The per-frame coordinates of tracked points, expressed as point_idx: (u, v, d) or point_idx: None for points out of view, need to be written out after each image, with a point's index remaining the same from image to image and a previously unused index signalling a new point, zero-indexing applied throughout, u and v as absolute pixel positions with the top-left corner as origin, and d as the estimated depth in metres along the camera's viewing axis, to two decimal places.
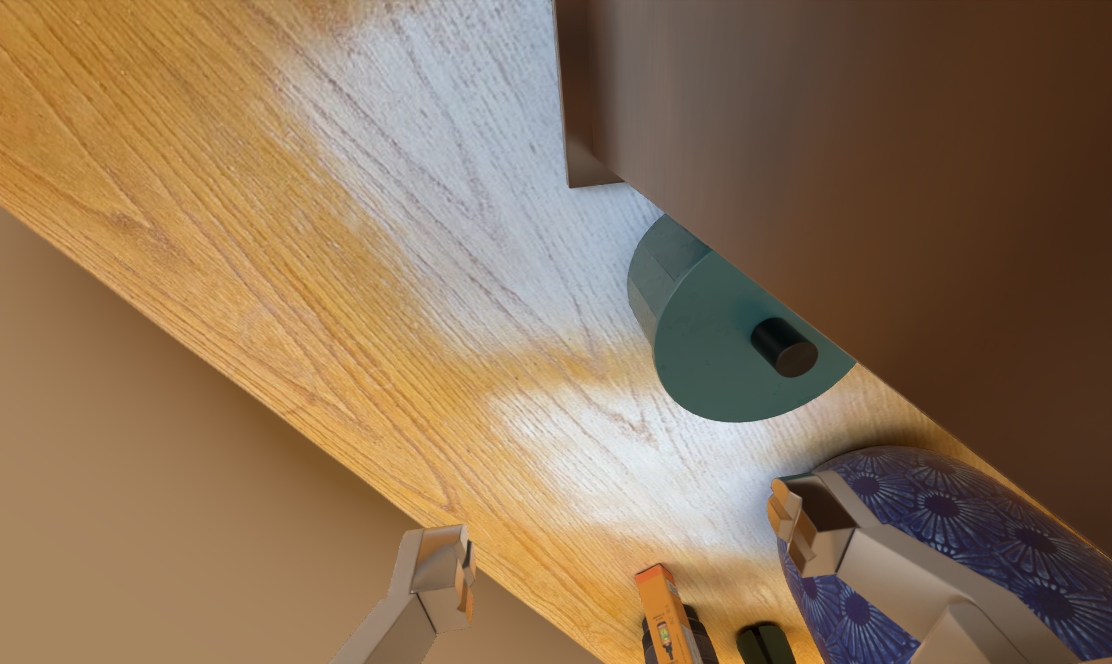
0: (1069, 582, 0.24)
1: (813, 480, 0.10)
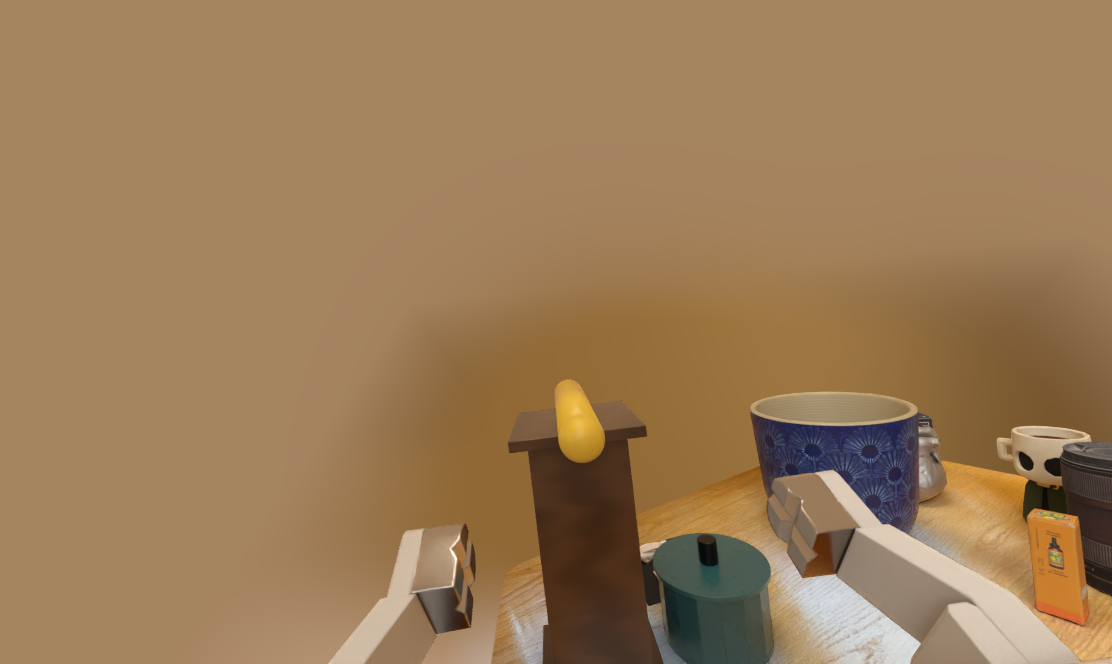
0: (761, 442, 0.62)
1: (813, 480, 0.10)
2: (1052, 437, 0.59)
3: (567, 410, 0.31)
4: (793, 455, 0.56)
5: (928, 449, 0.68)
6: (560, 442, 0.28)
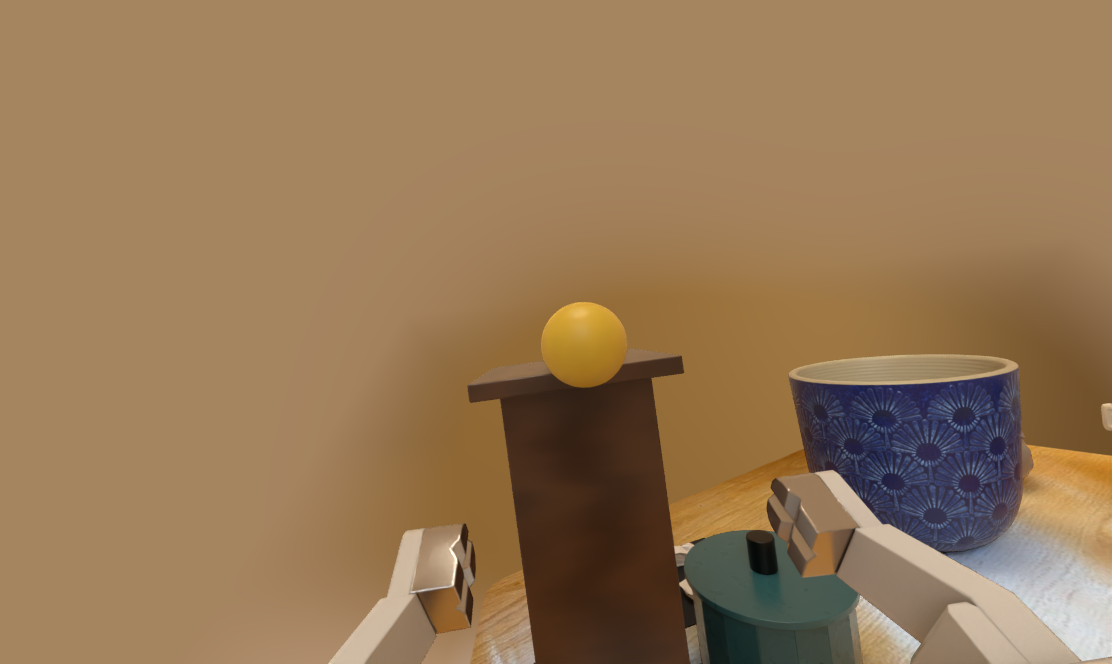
0: (808, 415, 0.49)
1: (813, 480, 0.10)
2: None
3: None
4: (856, 427, 0.43)
5: None
6: (544, 348, 0.15)
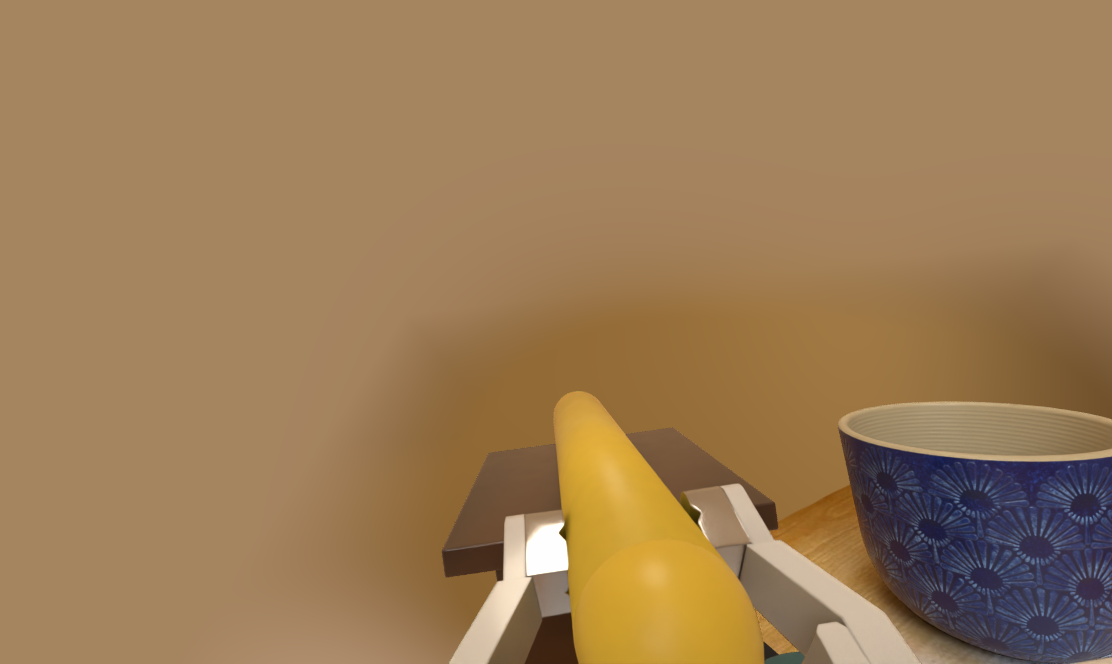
0: (869, 481, 0.41)
1: (716, 494, 0.10)
2: None
3: (595, 493, 0.10)
4: (936, 507, 0.35)
5: None
6: (583, 663, 0.07)
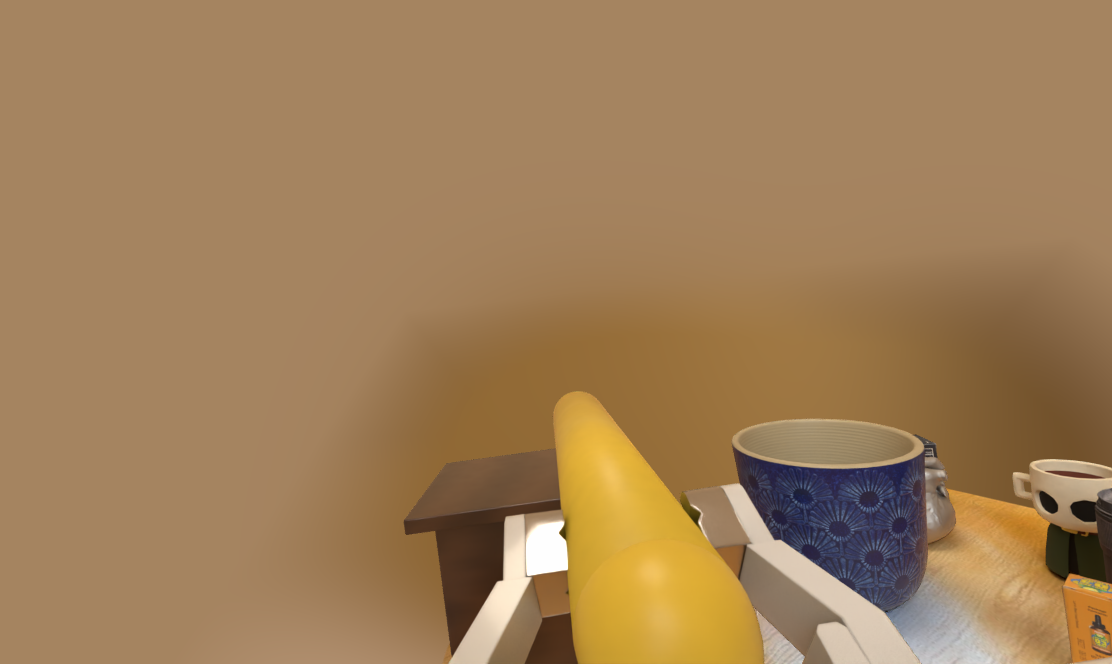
0: (745, 482, 0.54)
1: (717, 494, 0.10)
2: (1077, 473, 0.51)
3: (594, 493, 0.10)
4: (780, 501, 0.48)
5: (934, 483, 0.60)
6: None
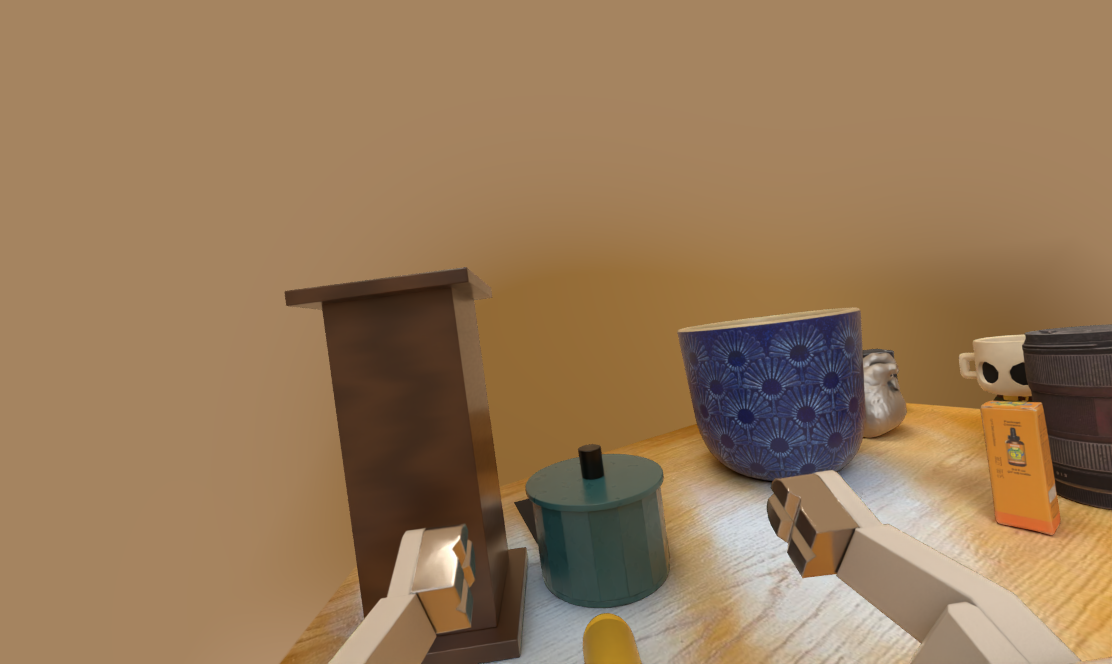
0: (687, 364, 0.53)
1: (813, 480, 0.10)
2: None
3: None
4: (717, 369, 0.48)
5: (885, 376, 0.59)
6: None
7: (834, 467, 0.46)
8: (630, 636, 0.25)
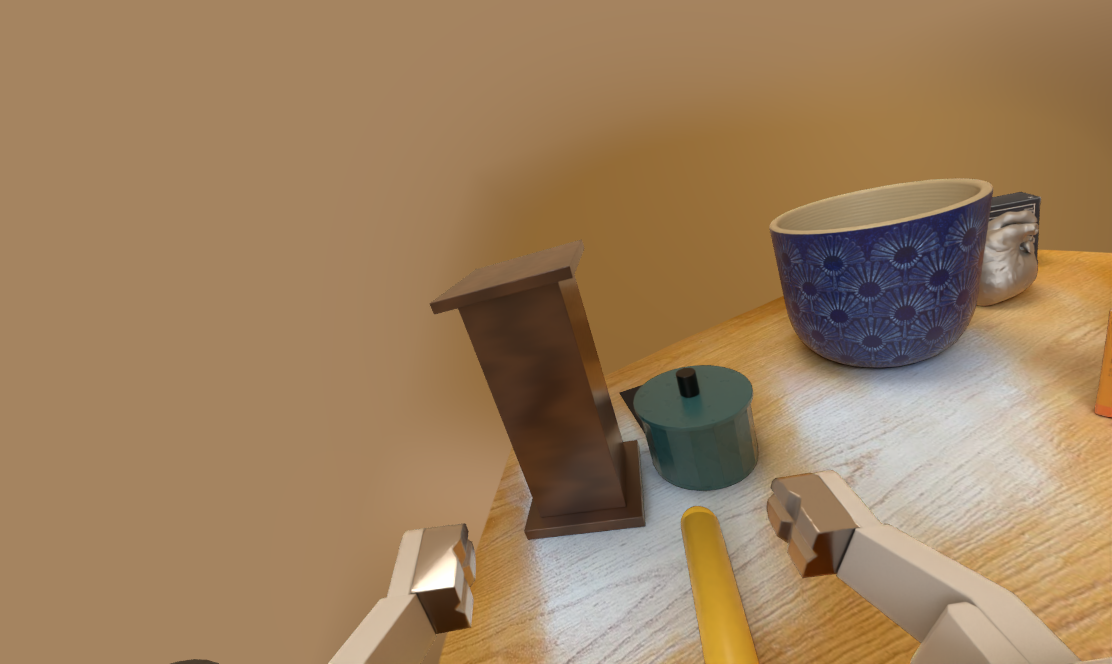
0: (779, 262, 0.53)
1: (813, 480, 0.10)
2: None
3: None
4: (811, 272, 0.48)
5: (1018, 239, 0.53)
6: None
7: (930, 355, 0.47)
8: (706, 520, 0.35)
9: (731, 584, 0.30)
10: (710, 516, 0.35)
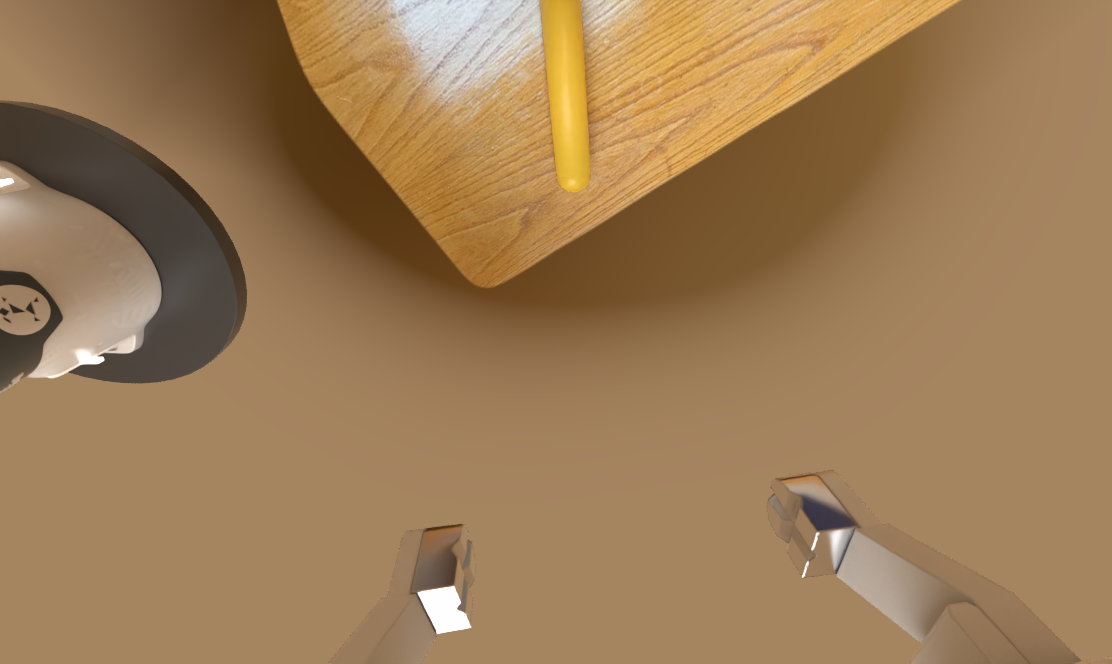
0: None
1: (813, 480, 0.10)
2: None
3: (553, 142, 0.37)
4: None
5: None
6: None
7: None
8: None
9: (570, 0, 0.31)
10: None
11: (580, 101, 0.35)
